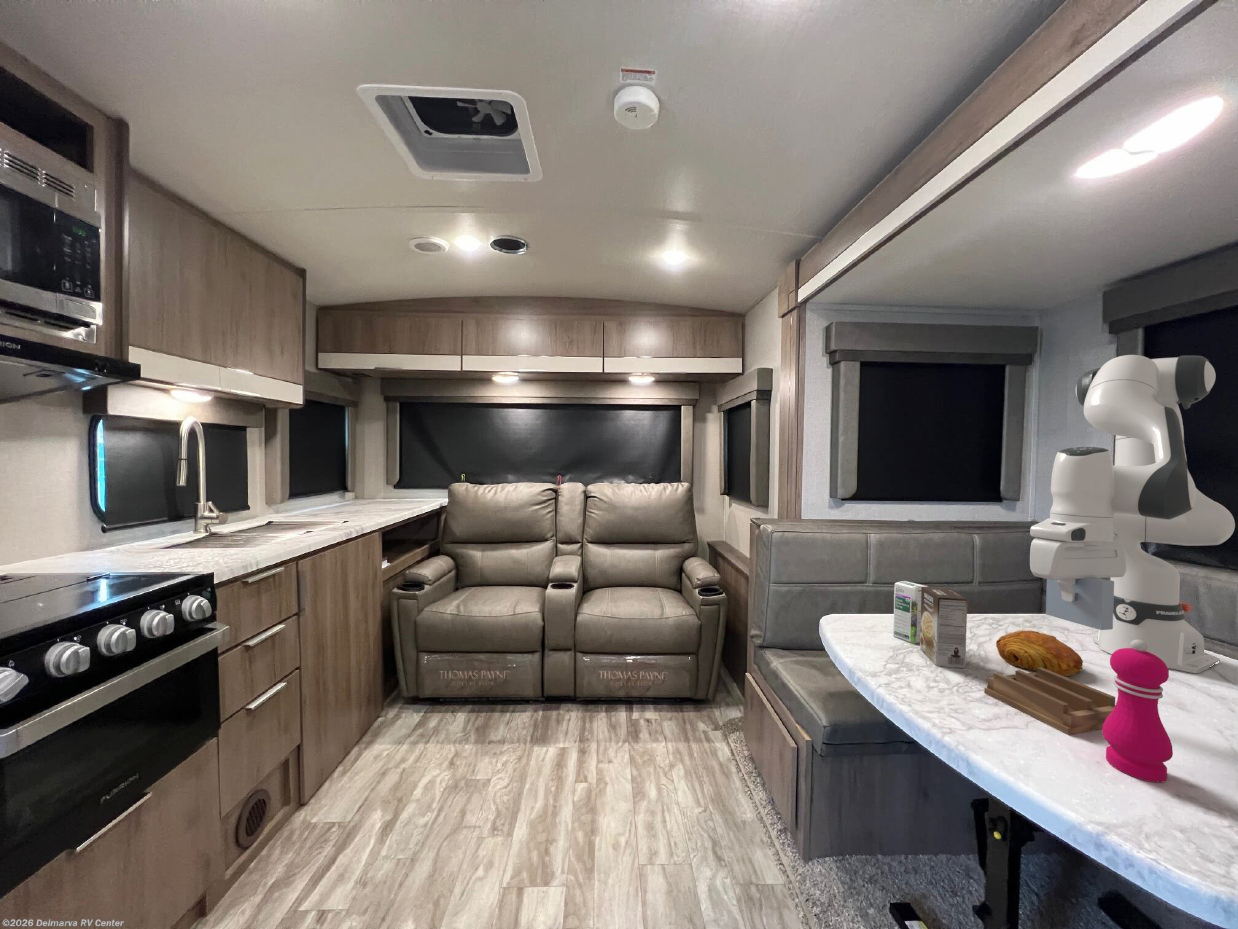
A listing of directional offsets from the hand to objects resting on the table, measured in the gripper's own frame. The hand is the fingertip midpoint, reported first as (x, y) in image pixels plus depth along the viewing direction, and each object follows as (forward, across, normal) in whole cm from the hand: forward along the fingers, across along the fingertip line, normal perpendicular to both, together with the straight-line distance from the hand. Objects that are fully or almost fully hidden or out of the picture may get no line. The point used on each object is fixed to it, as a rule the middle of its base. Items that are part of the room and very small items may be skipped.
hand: (1078, 600), depth 90 cm
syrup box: (+20, +4, -34) cm, 40 cm away
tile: (+4, 0, 0) cm, 4 cm away
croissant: (+20, -13, -15) cm, 28 cm away
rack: (+20, +7, 0) cm, 21 cm away
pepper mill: (+21, +14, +16) cm, 30 cm away
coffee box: (+20, +8, -22) cm, 31 cm away
